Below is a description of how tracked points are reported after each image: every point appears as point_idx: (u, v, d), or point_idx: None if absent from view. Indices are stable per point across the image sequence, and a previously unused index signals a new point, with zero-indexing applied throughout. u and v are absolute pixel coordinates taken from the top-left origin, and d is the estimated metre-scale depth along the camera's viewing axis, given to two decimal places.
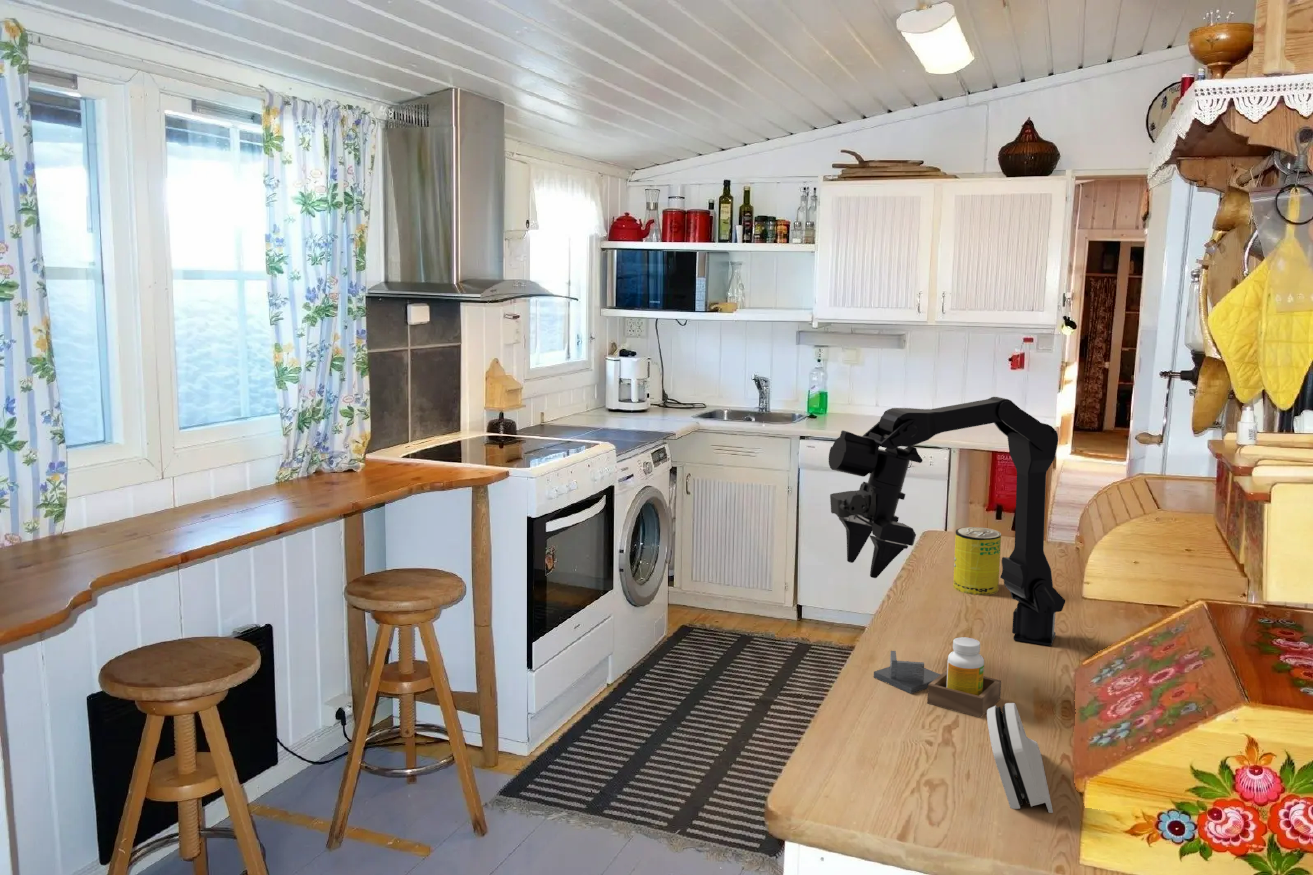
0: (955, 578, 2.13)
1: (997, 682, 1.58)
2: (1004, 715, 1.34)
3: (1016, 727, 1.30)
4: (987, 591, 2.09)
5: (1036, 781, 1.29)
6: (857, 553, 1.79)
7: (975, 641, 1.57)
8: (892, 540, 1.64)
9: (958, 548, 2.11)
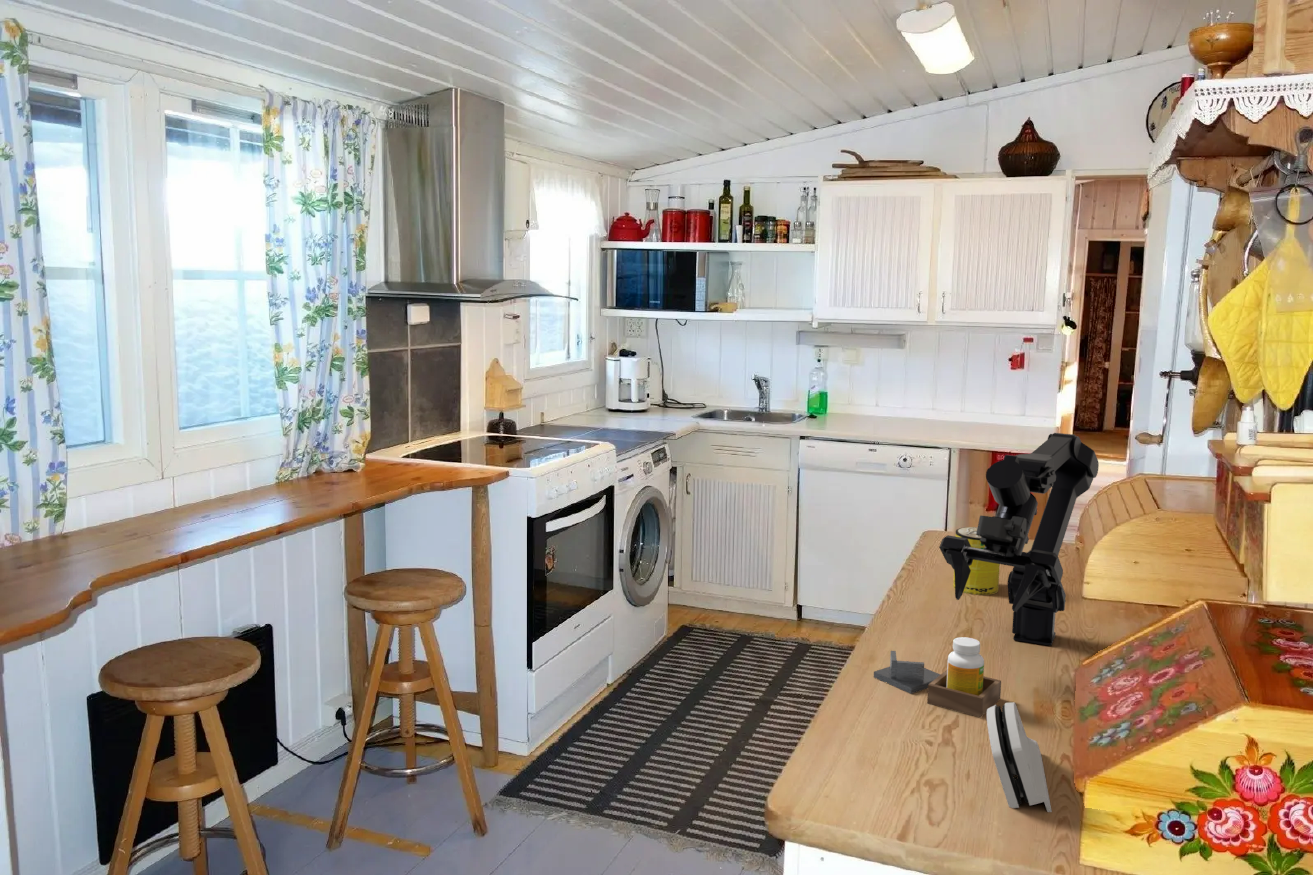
0: None
1: (997, 682, 1.58)
2: (1004, 714, 1.34)
3: (1015, 726, 1.30)
4: (987, 591, 2.09)
5: (1035, 780, 1.29)
6: (962, 591, 1.66)
7: (975, 641, 1.57)
8: (1056, 571, 1.59)
9: None
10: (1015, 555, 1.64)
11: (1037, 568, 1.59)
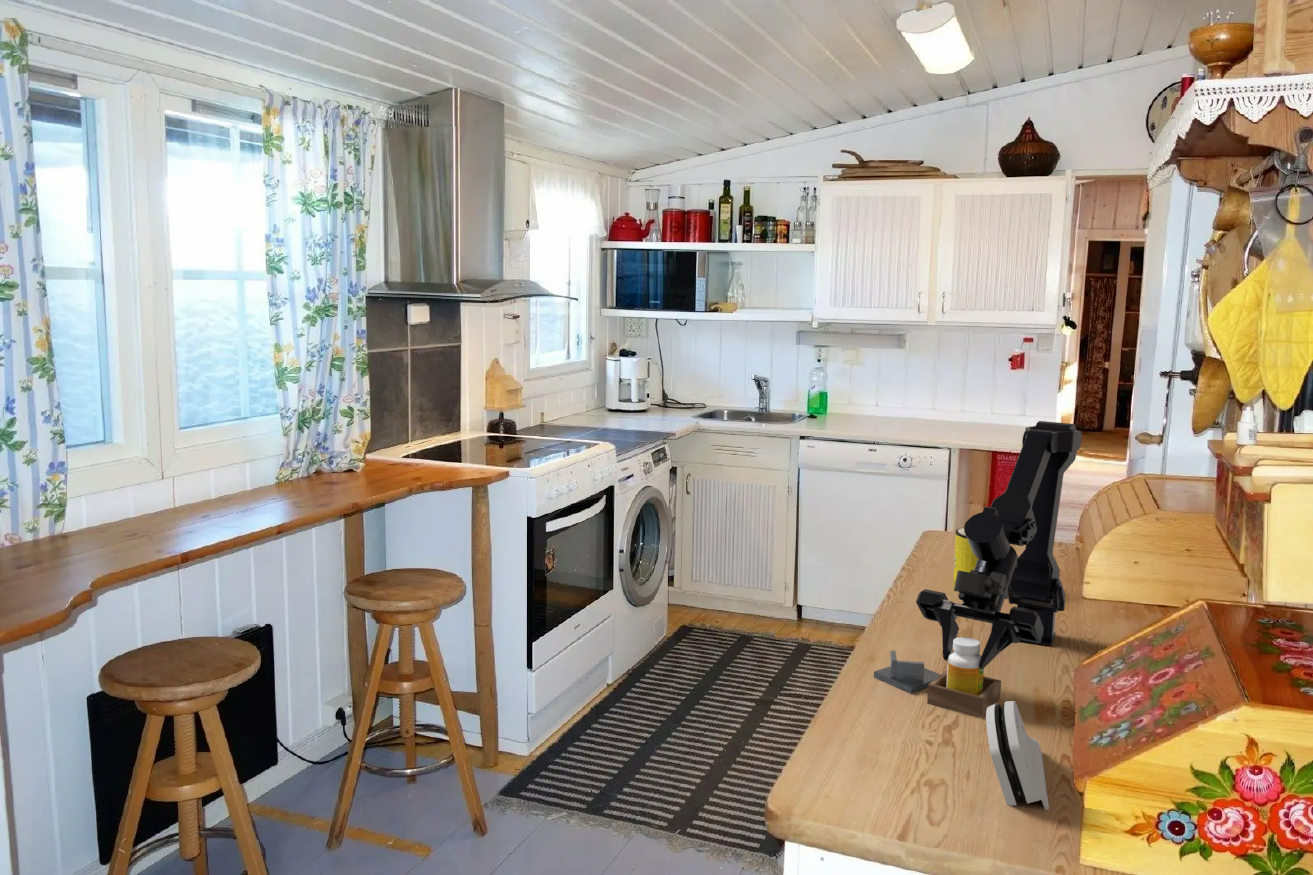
0: (955, 578, 2.13)
1: (997, 682, 1.58)
2: (1003, 713, 1.35)
3: (1014, 724, 1.31)
4: None
5: (1033, 778, 1.30)
6: (950, 651, 1.59)
7: (975, 641, 1.57)
8: (1036, 629, 1.53)
9: (958, 548, 2.11)
10: (994, 612, 1.58)
11: (1005, 624, 1.54)
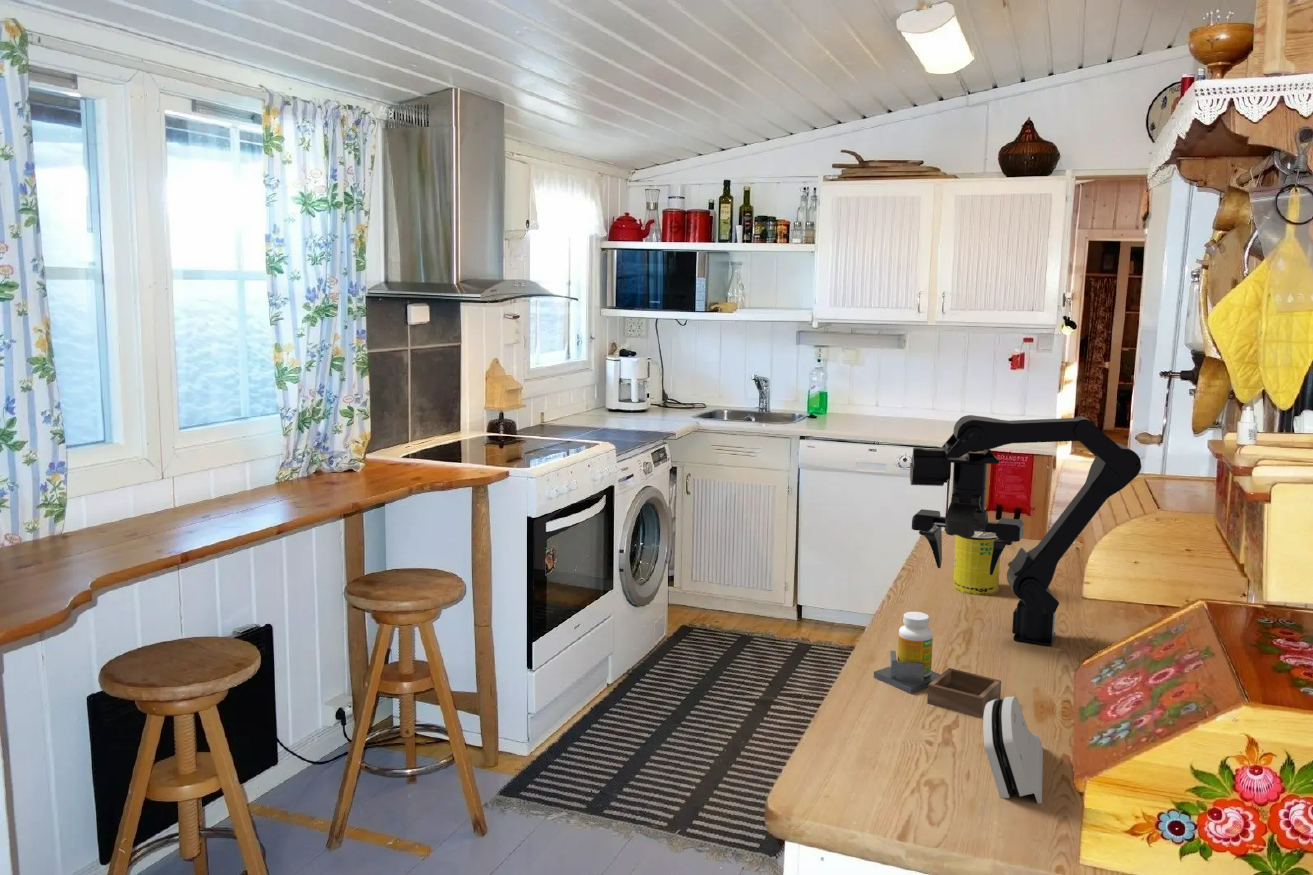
0: (955, 578, 2.13)
1: (997, 682, 1.58)
2: (1001, 707, 1.36)
3: (1009, 719, 1.32)
4: (987, 591, 2.09)
5: (1028, 772, 1.31)
6: (941, 557, 1.87)
7: (924, 616, 1.65)
8: (1020, 538, 1.78)
9: (958, 548, 2.11)
10: None
11: (1005, 544, 1.78)
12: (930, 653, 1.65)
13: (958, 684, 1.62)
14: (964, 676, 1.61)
